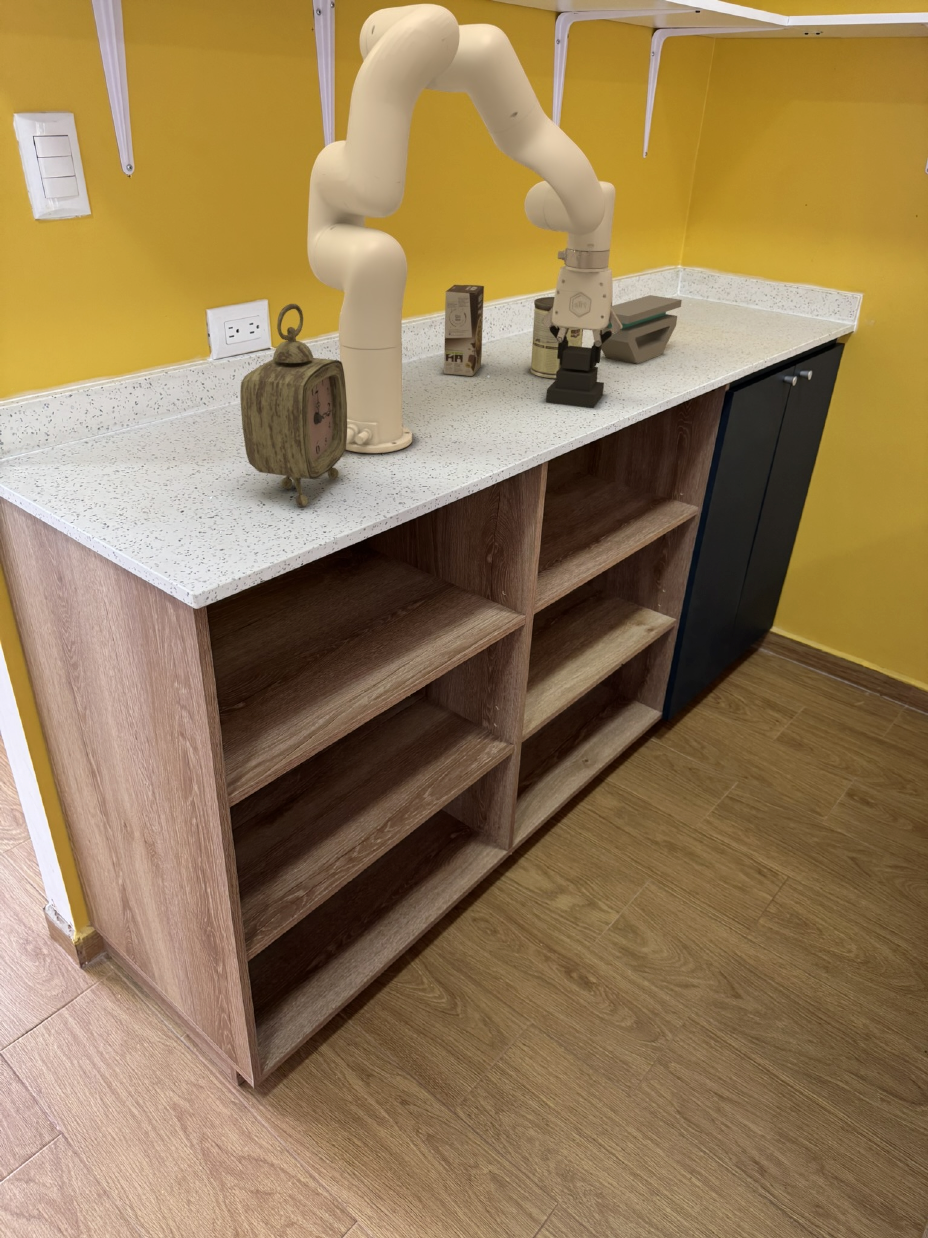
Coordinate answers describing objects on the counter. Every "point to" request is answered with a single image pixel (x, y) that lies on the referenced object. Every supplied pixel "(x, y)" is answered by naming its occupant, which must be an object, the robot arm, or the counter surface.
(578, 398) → the large pad
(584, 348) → the small pad
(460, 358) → the coffee box
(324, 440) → the tabletop clock
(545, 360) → the coffee can
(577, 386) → the medium pad
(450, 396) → the counter surface
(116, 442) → the counter surface
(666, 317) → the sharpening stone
